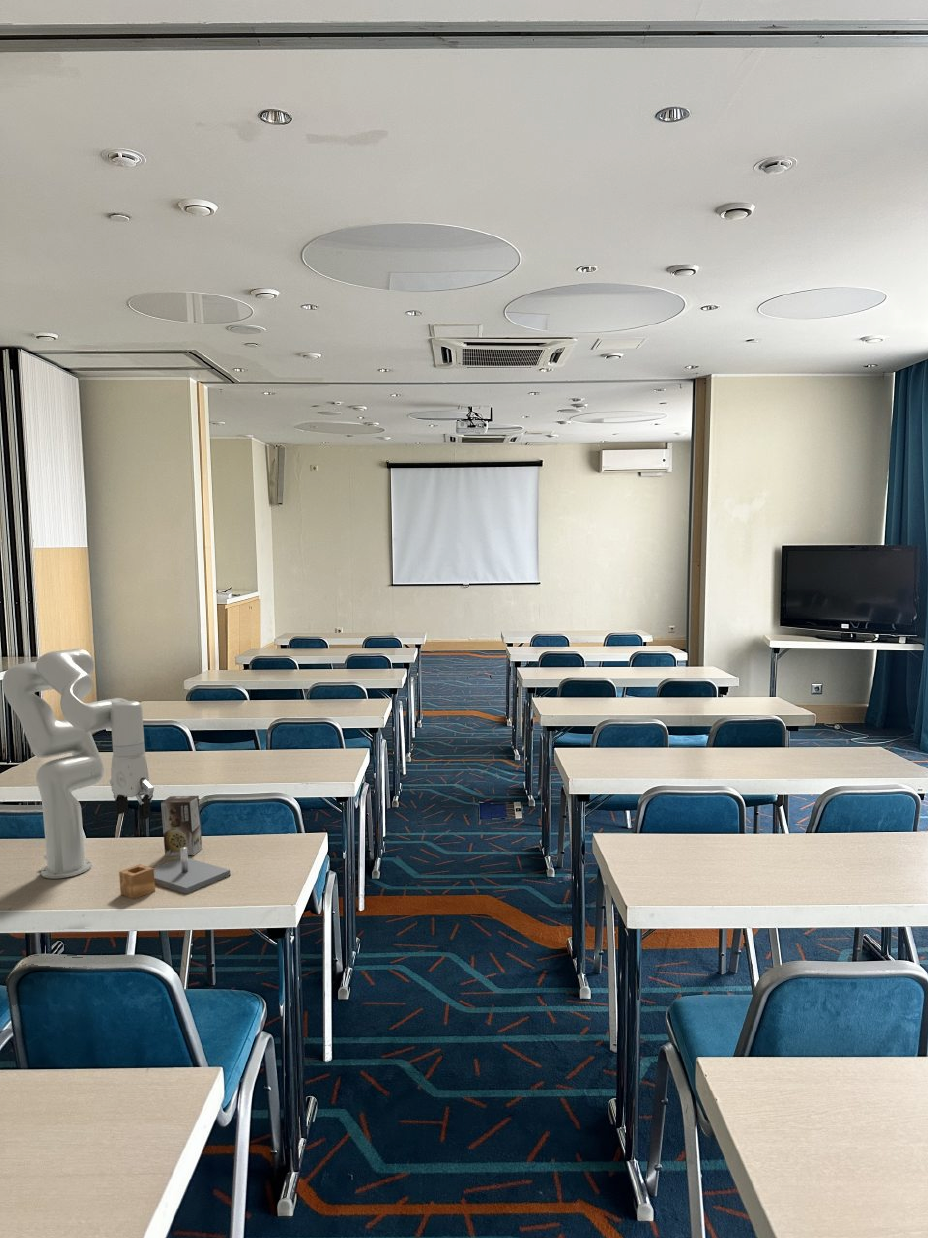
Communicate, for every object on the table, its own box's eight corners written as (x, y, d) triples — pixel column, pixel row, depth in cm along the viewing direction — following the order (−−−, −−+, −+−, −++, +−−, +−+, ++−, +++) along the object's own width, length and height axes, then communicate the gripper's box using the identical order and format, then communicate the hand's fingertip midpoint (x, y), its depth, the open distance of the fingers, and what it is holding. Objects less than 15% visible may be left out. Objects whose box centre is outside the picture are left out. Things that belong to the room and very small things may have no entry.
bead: (120, 894, 212) (119, 871, 211) (141, 886, 217) (139, 864, 216) (134, 899, 208) (132, 876, 208) (155, 890, 213) (153, 868, 213)
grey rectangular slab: (140, 878, 222) (139, 873, 222) (184, 862, 233) (183, 856, 233) (186, 893, 211) (186, 888, 210) (230, 875, 222) (230, 870, 222)
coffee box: (203, 848, 244) (199, 795, 243) (193, 856, 238) (190, 801, 237) (173, 848, 245) (170, 795, 244) (163, 856, 239) (160, 801, 238)
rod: (180, 872, 222) (178, 848, 221) (185, 870, 223) (184, 846, 223) (184, 873, 221) (182, 849, 220) (189, 871, 222) (188, 847, 222)
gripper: (96, 749, 212) (100, 814, 213) (136, 756, 202) (140, 825, 203) (122, 743, 218) (126, 807, 219) (162, 750, 208) (166, 816, 209)
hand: (133, 815), depth 211 cm, fingers open, 9 cm apart
